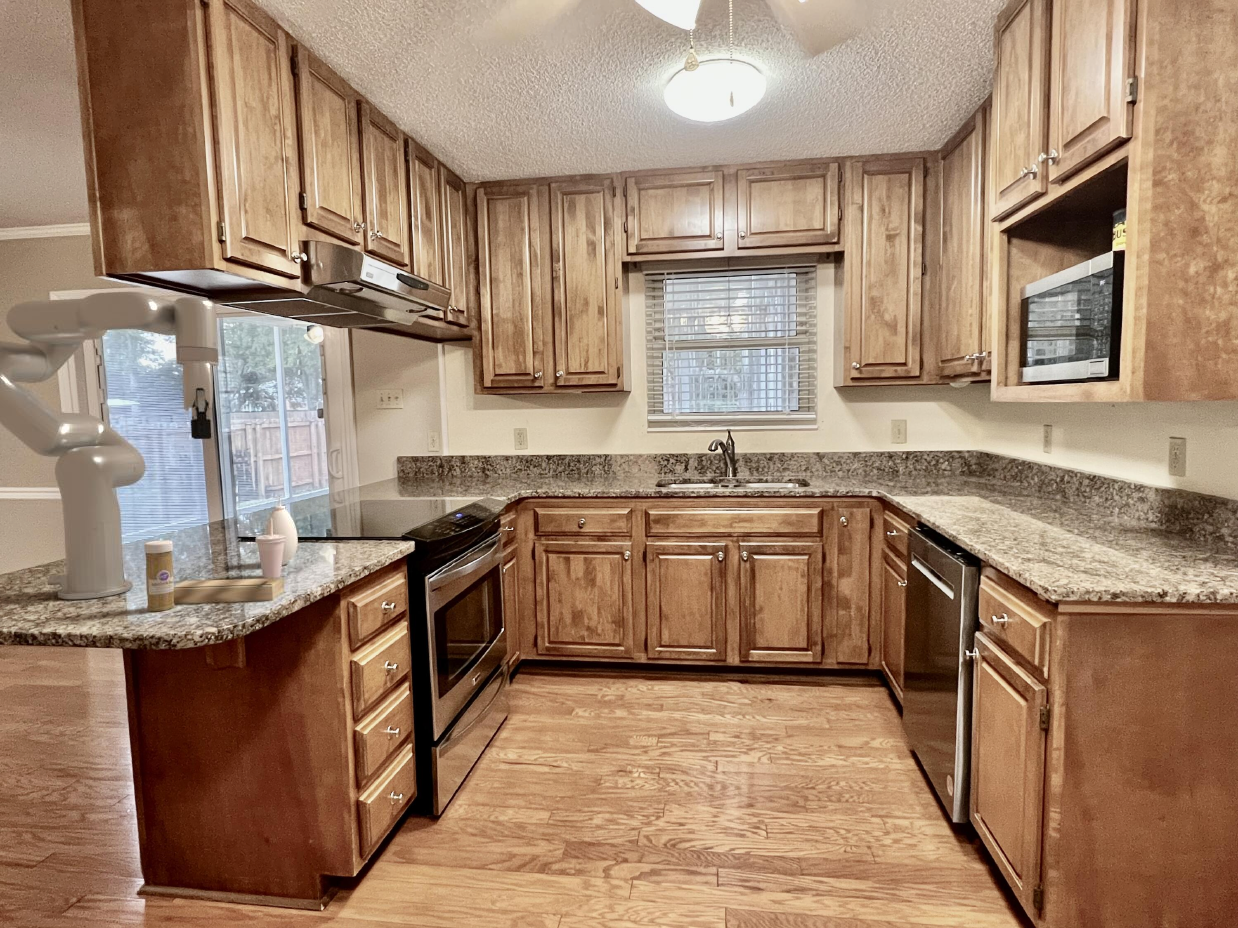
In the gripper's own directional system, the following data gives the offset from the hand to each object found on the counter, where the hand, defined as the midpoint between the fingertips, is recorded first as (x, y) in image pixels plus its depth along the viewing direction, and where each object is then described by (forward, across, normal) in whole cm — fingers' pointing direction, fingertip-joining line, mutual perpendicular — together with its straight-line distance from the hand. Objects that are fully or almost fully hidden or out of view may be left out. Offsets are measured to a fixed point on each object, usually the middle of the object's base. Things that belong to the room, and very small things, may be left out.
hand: (201, 438), depth 138 cm
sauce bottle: (+34, -21, +17) cm, 43 cm away
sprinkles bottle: (+34, +9, -8) cm, 36 cm away
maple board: (+34, +7, +3) cm, 34 cm away
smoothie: (+34, -9, +13) cm, 37 cm away
